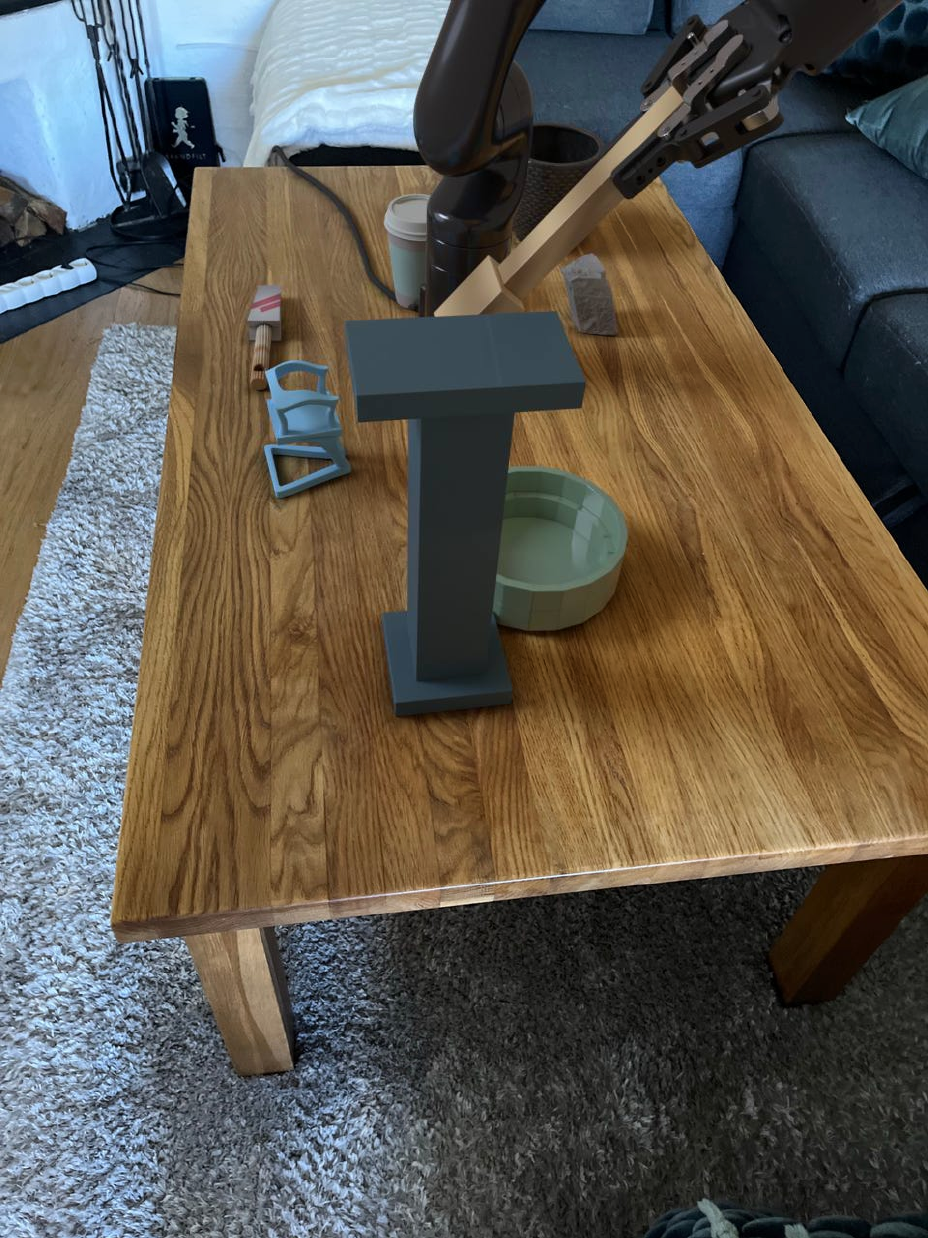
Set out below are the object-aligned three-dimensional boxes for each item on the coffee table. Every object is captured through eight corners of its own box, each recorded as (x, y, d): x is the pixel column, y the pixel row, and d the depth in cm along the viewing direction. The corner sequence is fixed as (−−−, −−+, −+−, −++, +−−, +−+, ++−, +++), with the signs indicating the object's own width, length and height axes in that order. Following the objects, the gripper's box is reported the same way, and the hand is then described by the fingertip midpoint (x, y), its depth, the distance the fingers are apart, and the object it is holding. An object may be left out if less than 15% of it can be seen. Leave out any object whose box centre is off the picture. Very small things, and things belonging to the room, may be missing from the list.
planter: (594, 263, 130) (610, 168, 120) (494, 257, 129) (502, 162, 120) (587, 215, 139) (601, 123, 129) (494, 210, 139) (501, 117, 129)
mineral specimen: (595, 294, 123) (613, 243, 116) (619, 341, 120) (639, 292, 113) (544, 299, 121) (559, 248, 114) (567, 348, 118) (584, 298, 111)
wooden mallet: (467, 368, 69) (443, 350, 68) (456, 330, 72) (433, 312, 71) (708, 129, 59) (685, 101, 57) (683, 98, 62) (661, 71, 60)
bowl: (411, 557, 91) (411, 511, 87) (536, 489, 98) (542, 444, 94) (525, 664, 83) (532, 620, 79) (651, 581, 91) (664, 537, 86)
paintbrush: (284, 274, 118) (273, 374, 106) (286, 294, 120) (275, 394, 108) (253, 274, 117) (238, 374, 105) (256, 293, 120) (241, 393, 107)
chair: (355, 486, 97) (351, 390, 88) (275, 499, 95) (262, 402, 86) (340, 440, 102) (335, 344, 93) (264, 451, 100) (250, 355, 91)
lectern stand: (371, 719, 78) (358, 405, 54) (360, 629, 85) (343, 311, 61) (533, 701, 81) (590, 391, 56) (510, 614, 87) (552, 302, 63)
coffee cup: (459, 289, 124) (464, 199, 114) (437, 322, 118) (440, 230, 109) (399, 275, 125) (399, 186, 116) (374, 307, 120) (372, 215, 111)
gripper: (773, -124, 57) (554, 94, 65) (875, -56, 48) (608, 188, 56) (824, -22, 62) (615, 170, 69) (926, 57, 53) (673, 267, 60)
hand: (613, 177), depth 62 cm, fingers closed on wooden mallet, 2 cm apart
